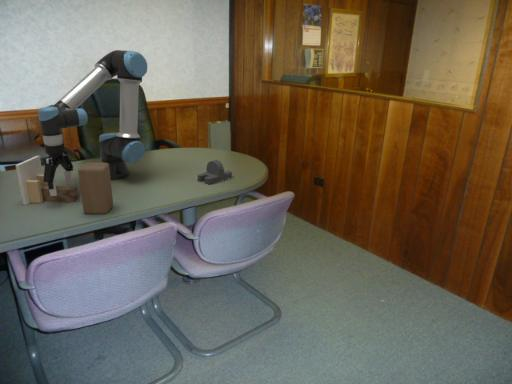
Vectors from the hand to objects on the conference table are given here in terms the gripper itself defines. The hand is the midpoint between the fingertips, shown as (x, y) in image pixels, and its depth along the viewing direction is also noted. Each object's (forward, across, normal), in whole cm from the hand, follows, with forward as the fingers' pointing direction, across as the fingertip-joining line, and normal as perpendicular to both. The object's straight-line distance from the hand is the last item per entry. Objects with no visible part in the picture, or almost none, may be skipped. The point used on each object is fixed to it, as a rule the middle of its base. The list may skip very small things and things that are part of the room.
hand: (62, 189), depth 171 cm
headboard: (+5, +1, -10) cm, 11 cm away
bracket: (+7, -40, +63) cm, 75 cm away
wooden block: (+5, +9, +20) cm, 22 cm away
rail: (+5, +1, -3) cm, 6 cm away
